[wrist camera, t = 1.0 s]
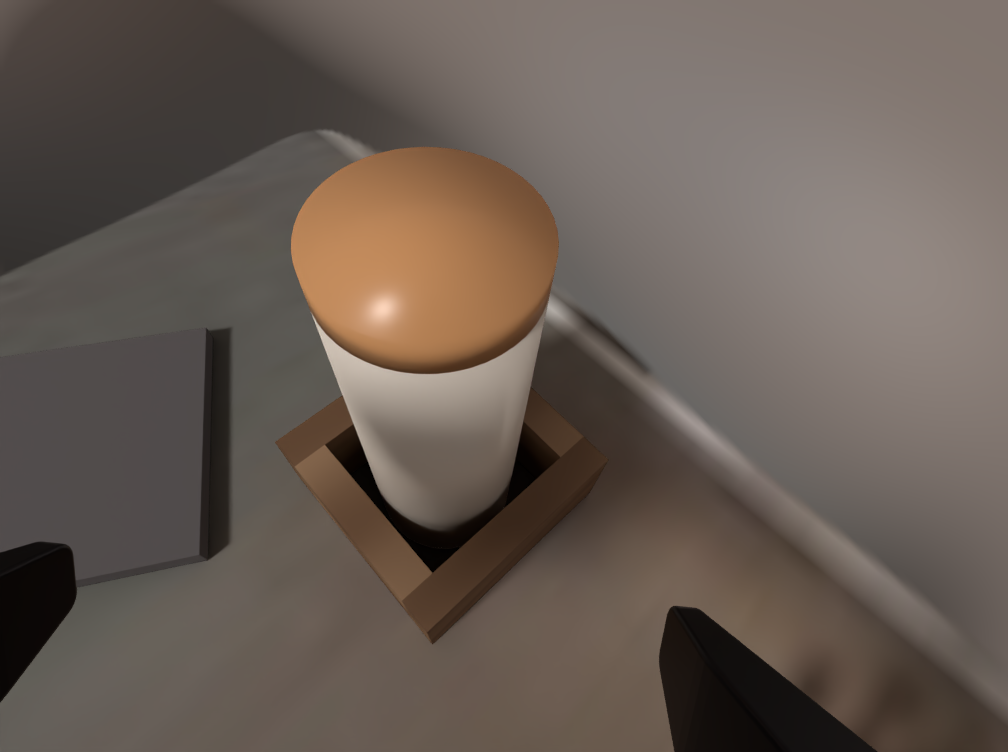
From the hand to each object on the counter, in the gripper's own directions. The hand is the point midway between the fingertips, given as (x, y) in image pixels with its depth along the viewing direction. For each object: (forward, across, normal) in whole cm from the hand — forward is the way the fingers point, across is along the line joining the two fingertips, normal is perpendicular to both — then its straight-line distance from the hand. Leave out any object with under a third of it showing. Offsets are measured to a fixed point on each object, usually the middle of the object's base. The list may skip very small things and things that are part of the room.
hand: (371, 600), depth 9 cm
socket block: (+14, 0, +5) cm, 14 cm away
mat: (+13, +15, +5) cm, 20 cm away
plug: (+14, 0, +5) cm, 14 cm away
